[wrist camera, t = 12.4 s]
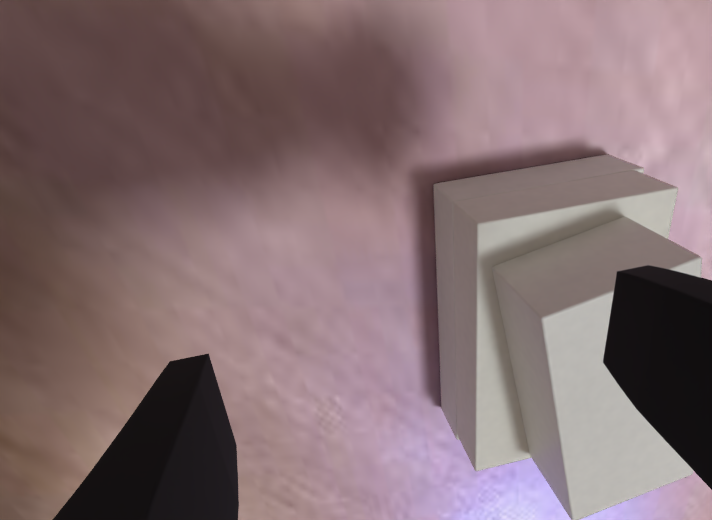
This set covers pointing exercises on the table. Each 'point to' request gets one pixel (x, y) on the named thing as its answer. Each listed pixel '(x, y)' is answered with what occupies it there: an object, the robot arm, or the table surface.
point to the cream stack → (505, 242)
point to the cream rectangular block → (584, 365)
